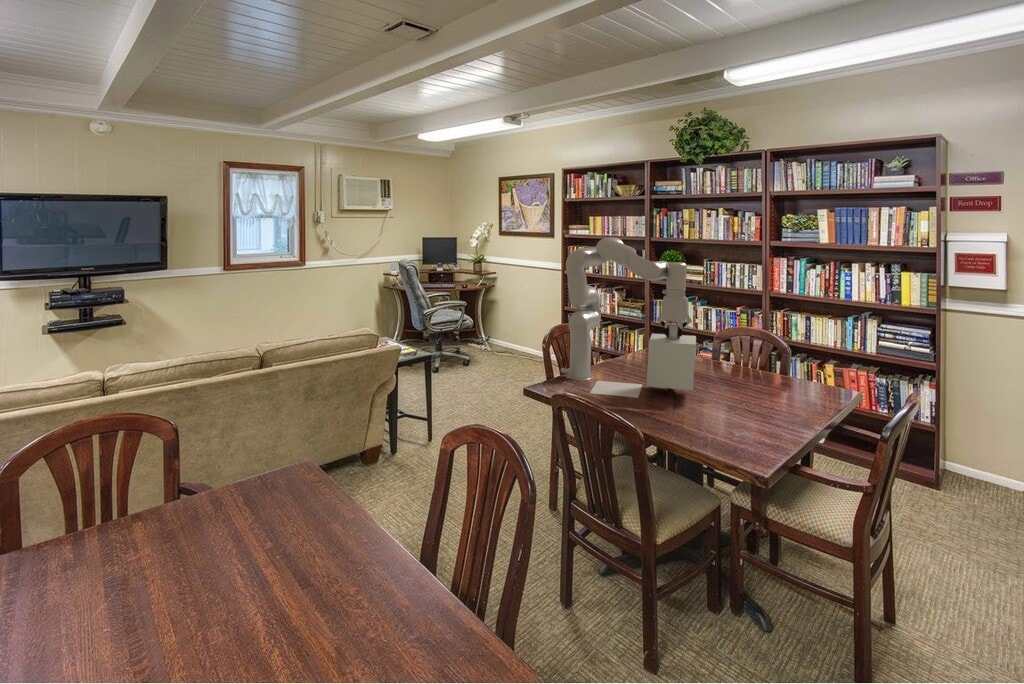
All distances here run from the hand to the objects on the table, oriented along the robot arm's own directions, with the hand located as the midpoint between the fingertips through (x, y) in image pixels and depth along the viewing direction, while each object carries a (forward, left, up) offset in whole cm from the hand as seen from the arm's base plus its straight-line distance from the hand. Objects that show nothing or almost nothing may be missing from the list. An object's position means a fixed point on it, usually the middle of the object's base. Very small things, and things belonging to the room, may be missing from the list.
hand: (673, 337), depth 234 cm
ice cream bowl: (0, 0, -25) cm, 25 cm away
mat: (-22, 0, -25) cm, 33 cm away
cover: (0, 0, -19) cm, 19 cm away
